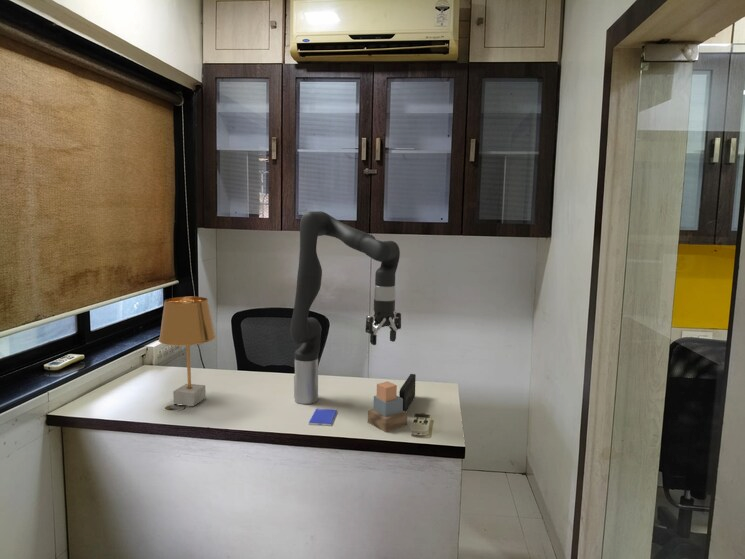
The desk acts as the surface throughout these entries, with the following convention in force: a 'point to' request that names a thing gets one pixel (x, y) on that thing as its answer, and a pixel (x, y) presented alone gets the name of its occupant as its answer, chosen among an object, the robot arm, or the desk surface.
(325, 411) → the hard drive
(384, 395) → the terracotta cube
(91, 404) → the desk surface
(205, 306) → the lamp
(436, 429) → the desk surface
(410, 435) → the desk surface
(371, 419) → the walnut base block
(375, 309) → the robot arm
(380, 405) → the slate middle block
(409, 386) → the nameplate
